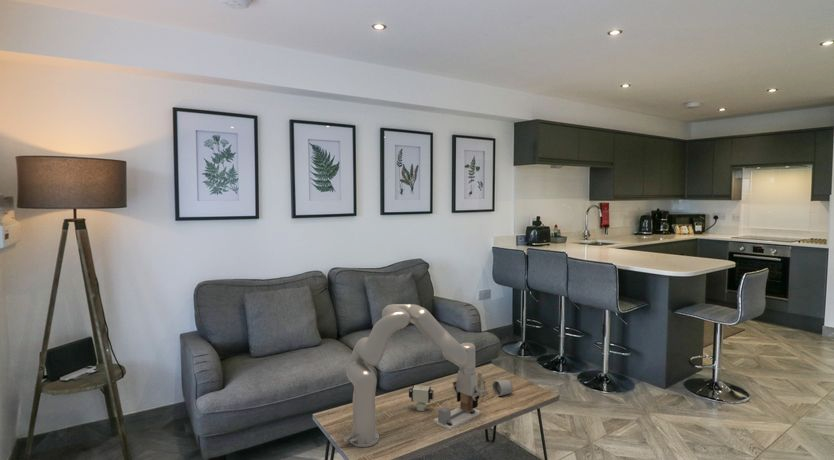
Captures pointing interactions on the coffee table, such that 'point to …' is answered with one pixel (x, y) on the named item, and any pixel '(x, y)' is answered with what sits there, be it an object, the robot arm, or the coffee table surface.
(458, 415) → the board
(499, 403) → the coffee table surface
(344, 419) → the coffee table surface
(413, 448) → the coffee table surface
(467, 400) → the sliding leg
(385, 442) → the coffee table surface
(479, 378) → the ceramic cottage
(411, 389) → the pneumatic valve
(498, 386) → the ceramic mug
